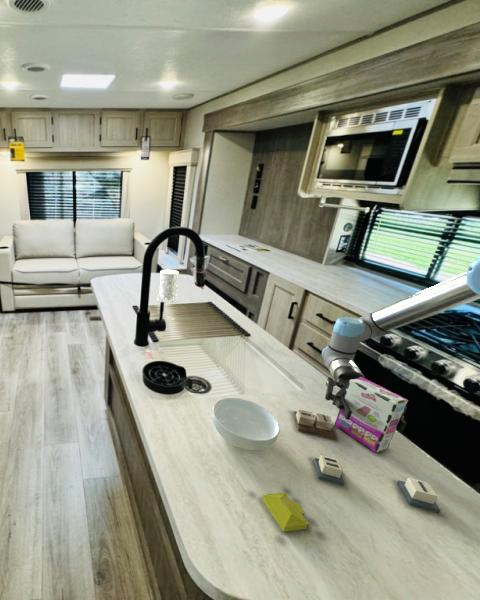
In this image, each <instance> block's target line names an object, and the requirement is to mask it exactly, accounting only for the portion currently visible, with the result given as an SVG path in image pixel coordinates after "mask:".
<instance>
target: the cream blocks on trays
mask: <svg viewBox="0 0 480 600" xmlns="http://www.w3.org/2000/svg"><path fill="white" fill-rule="evenodd" d="M312 461H313V465H314V468H315V471H316V474H317V478H318V480H320V481H324V482H327V483H331V484H335V485H338V486H342V487H344V486H345V484H346V482H345V481H344V477H343V475H342V473H343V468H342V466H341V463H340V461H339V459H338V458H335V457H331V456H327V455H323V454H320V456H319V458H317V457H313V459H312ZM396 484H397V486H398V488H399V489H400V491H401V492H402V495H403V496H404V498H405V500H406V502H407V504H408V505H409V506H411V507H416V508H419V509H422V510H425V511H428V512H432V513H437V514H440V512H441V509H440V507H439V506H438V504H437V503H436V500H437V499H438V495H437V493H436V492H435V490H434V489H433V487H432V486H431V484H430V483H429V482H427V481H424V480H423V481H422V480H420V479H415V478H412V477H408V478H407V479H406V481H405V480H404V481H403V480H400V479H398V480H397V482H396Z"/></svg>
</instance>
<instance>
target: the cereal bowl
mask: <svg viewBox="0 0 480 600" xmlns="http://www.w3.org/2000/svg"><path fill="white" fill-rule="evenodd" d="M211 410H212V412H211V420H212V424H213V426H214V429H215V430H216V432H217V433H218V434H219V435H220V436H221V437H222V438H223V439H224V440H225V441H226V442H228V443H230V444H232V445H233V446H235V447H237V448H240V449H243V450H247V451H261V450H266V449H268V448H270V447H271V446H273V445H274V444H275V442H276V441H277V440H278V438H279V435H280V432H281V429H280V428H281V427H280V423H279V421H278V419H277V418H276V416H275V415H274V414H273V413H272V412H270V411H269V410H268V409H267V408H266V407H264V406H262V405H260V404H259V403H257V402H254V401H251V400H248V399H244V398H240V397H226V398H221V399H219V400H217V401H216V402H214V405H213V406H212V409H211Z"/></svg>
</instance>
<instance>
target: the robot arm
mask: <svg viewBox="0 0 480 600" xmlns="http://www.w3.org/2000/svg"><path fill="white" fill-rule="evenodd" d="M478 300H480V256H478V257H476V259H474V260H473V261H472V262H471V263H470V265H469V266H468V267H467V270H466V272H464V273H461V274H459V275H457V276H455V277H452V278H450V279H448V280H446V281H443V282H440V283H438V284H436V285H434V286H431V287H429V288H426V289H424V290H422V291H419V292H417V293H415V294H412V295H410V296H407V297H404V298H403V299H400V300H397V301H396V302H394V303H391V304H388V305H386V306H384V307H381V308H379V309H377V310H374V311H372V312H370V313H367V314H364V315H362V316H360V317H358V318H355V317H351V316H340V317H338V318H337V319H336V320H335V323H334V325H333V328H332V333H331V336H330V340H329V343H328V345H326V346H325V347H324V348H323V349H322V351H321V357H322V360H323V363H324V364H325V366H326V367H327V369H328V371H329V372H330V374H331V376H332V377H330V376H329V377H328V376H327V379H326V382H325V386H326V387H327V388H326V391H325V392H326V393H325V397H324V399H325V400H326V401H332V403H331V404H332V405H333V406H336V408H337V409H339V410H340V409H341V411H342V413H343V415H344V417H345V419H347V420H349V419H350V417H351V414H352V411H351V409H350V407H349V405H348V403H347V402H346V400H345V398H344V395H345V393H346V390H347V387H348V384H349V381H350V380H352V379H356V378H359V377H362V378H364V379H366V377H365V375H364V374H363V373H362V371H361V370H360V368H359V366H358V365H357V364H356V362H355V361H354V360H355V357H356V354H357V351H358V348H359V346H360V344H361V343H362V342H365V341H367V340H369V339H371V338H374V337H376V336H379V335H382V334H385V333H388V332H390V331H393V330H396V329H398V328H402V327H404V326H407V325H410V324H412V323H415V322H419V321H421V320H424V319H427V318H429V317H432V316H435V315H438V314H440V313H443V312H446V311H449V310H452V309H455V308H457V307H460V306H464V305H466V304H469V303H472V302H474V301H478ZM334 387H338V388H339V390H338V391H337V392H336V393H335V394H333V393H334V392H333V391H334ZM406 411H407V406H406V407H405V409H404V411H403V414H402V416H401V418H400V421H399V423H398V425H397V428H396V429H397V430H398V432H401V433H404V431H405V429H406V427H407V422H406V420H405V416H404V415H405V413H406Z"/></svg>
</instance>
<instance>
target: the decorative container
mask: <svg viewBox="0 0 480 600" xmlns="http://www.w3.org/2000/svg"><path fill="white" fill-rule="evenodd" d="M159 274H160V276H159V278H160V282H159V284H160V285H159V292H158V293H159V295H160V297H161V298H164V299H168V300H172V299H175V297H177V290H178V289H177V287H178V280H179V277H178V276H179V275H180V271H178V270H176V269H172V268H170V269H169V268H165V269H160V271H159ZM157 301H158V302H160V301H159V299H158V298H157ZM177 301H178V299H177V300H176V301H172V303H171V304H175V303H176V302H177Z"/></svg>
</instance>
